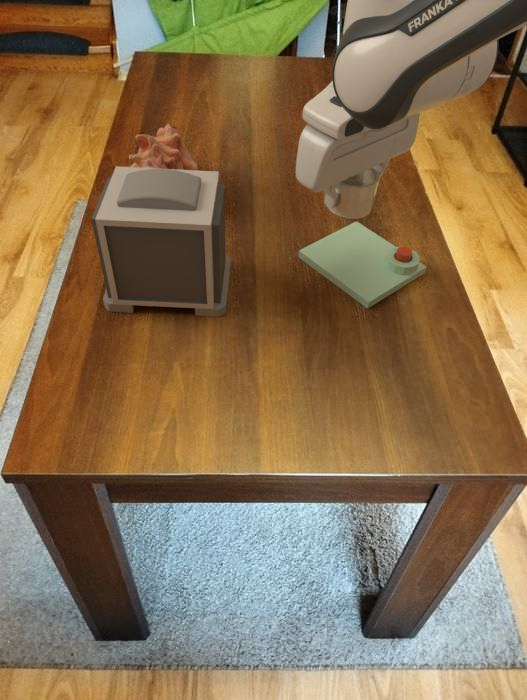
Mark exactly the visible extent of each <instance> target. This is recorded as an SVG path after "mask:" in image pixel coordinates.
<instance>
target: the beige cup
mask: <svg viewBox="0 0 527 700" xmlns="http://www.w3.org/2000/svg"><path fill="white" fill-rule="evenodd" d="M378 182H379V183H380V181H379V174H378V173H377V172H376V170H375V169H373V168H370V169H368V170H365V171H363V172H361V173H359V174H357V175H355V176H352V177H350V178H348V179H346V180H344V181H342V182H339V187H338V188H335V190H336V193H339V194H340V195H342V196H341V200H340V205H338V206H336V207H334V208H332V209H331V208H329V207H328V206H326V207H327V209H328V210H329V211H330V212H331V213H332V214H334V215H336V216H338V217H340V218H342V219H343V218H344V219H349V220H357V219H362V218H365V217H367V216H369V215H370V214H371V213H372V211H373V208H374V204H375V200H376V196H377V191H378V187H379V185H378Z"/></svg>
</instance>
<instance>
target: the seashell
mask: <svg viewBox="0 0 527 700" xmlns="http://www.w3.org/2000/svg"><path fill="white" fill-rule="evenodd" d="M134 139H135V141H136V142H137V145H138V146H139V149H138V151H137V153H133V154H128V159H129V160H130V161H132V162H133V163H132V164H131V165H130V166H129V167H138V168H158V169H177V170H197V171H199V168H198V167H199V166H198V163H197V162H196V161H195V160H194V159H193V158H192V153H190V152H189V151H188V149H187V147H186V145H185V142H184V141H183V139H182V136H181V134H179V133H178V130H177V129H176V128H174V127H173V126H171V125H170V124H169V123H167V124H166V125H165V126H164V127H162V126H161V127H160V128H158V130H157V131H156V136H154V135H150V134H146V133H144V134H136V135H135V136H134Z"/></svg>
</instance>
